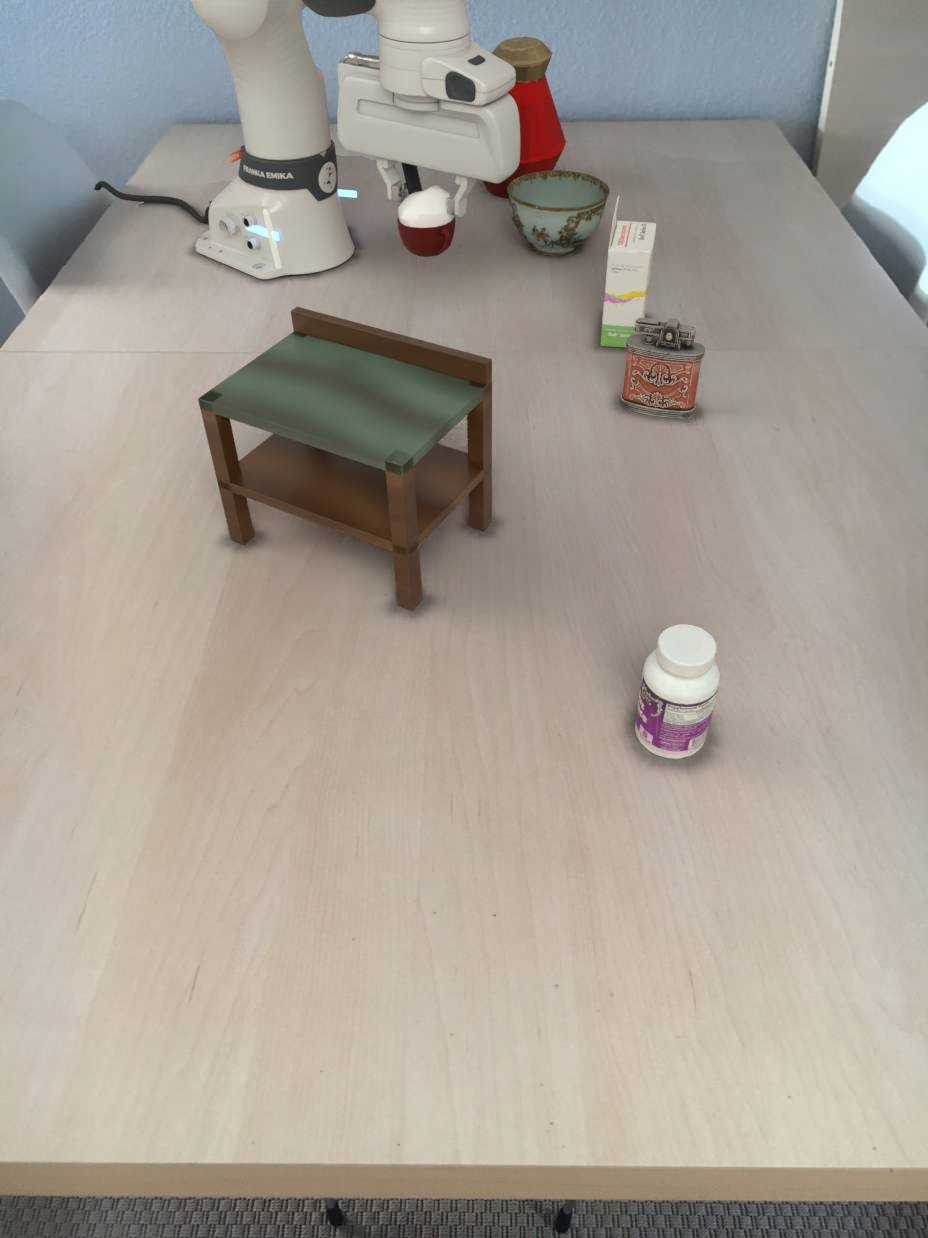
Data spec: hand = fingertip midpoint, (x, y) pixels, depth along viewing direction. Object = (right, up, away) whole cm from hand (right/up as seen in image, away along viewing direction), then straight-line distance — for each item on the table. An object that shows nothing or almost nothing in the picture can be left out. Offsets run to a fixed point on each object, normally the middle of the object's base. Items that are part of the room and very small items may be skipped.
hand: (427, 206), depth 106 cm
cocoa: (0, -3, +3) cm, 5 cm away
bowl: (+17, +7, +31) cm, 36 cm away
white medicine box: (+23, -10, +13) cm, 28 cm away
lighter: (+25, -22, +1) cm, 33 cm away
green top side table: (-6, -36, -14) cm, 39 cm away
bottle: (+12, +23, +47) cm, 54 cm away
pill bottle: (+19, -53, -32) cm, 65 cm away
